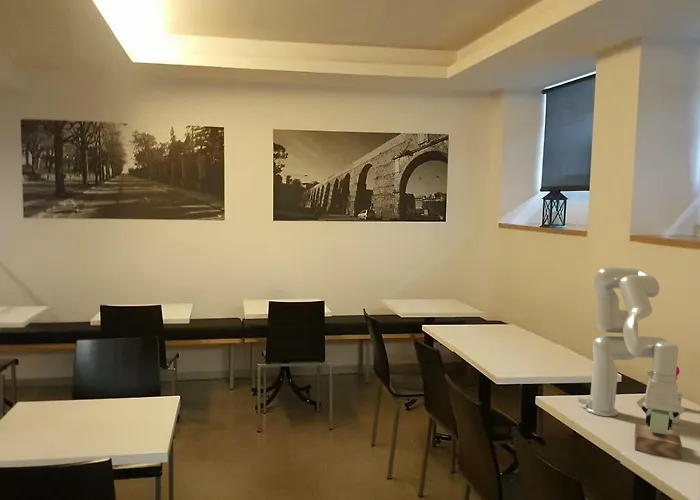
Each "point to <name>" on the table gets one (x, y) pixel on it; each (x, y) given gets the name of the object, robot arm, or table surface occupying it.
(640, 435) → the walnut riser block
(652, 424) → the sage block
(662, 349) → the robot arm
